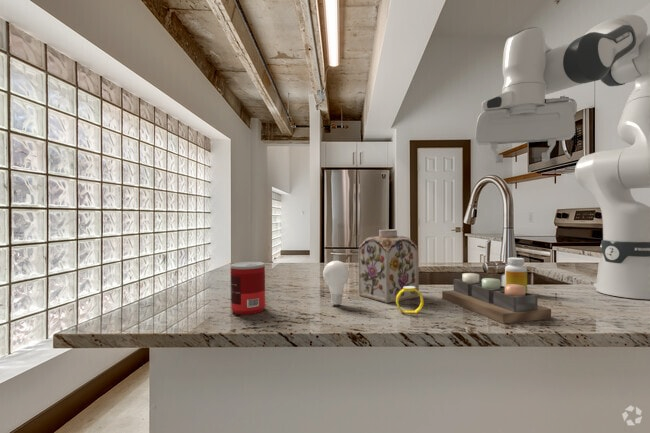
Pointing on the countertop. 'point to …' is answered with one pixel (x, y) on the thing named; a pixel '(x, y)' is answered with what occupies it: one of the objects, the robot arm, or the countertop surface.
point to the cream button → (470, 277)
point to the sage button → (490, 283)
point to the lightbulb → (336, 280)
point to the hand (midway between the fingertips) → (521, 161)
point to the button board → (496, 303)
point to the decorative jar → (388, 267)
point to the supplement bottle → (516, 272)
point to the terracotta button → (514, 290)
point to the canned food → (247, 287)
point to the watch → (409, 288)
